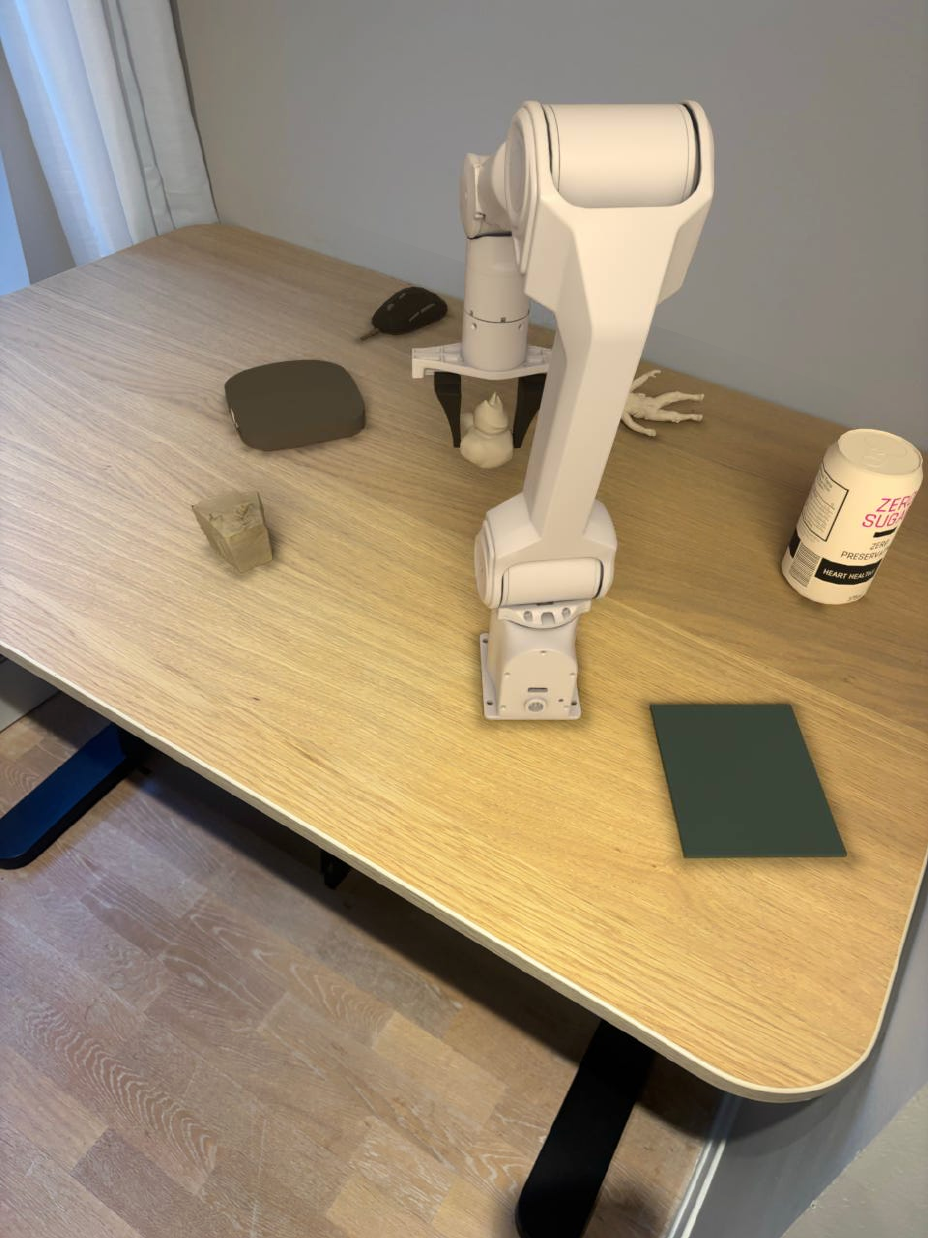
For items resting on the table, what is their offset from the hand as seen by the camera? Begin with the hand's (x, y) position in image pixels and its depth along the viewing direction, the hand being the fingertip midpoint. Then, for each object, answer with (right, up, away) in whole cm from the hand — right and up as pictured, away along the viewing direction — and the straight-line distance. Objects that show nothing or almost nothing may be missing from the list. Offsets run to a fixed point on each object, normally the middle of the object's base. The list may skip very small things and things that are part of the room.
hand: (487, 442), depth 84 cm
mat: (+20, -30, -16) cm, 39 cm away
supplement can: (+33, -13, +1) cm, 35 cm away
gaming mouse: (-11, +23, +35) cm, 43 cm away
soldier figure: (+20, +7, +20) cm, 29 cm away
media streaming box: (-22, +7, +18) cm, 29 cm away
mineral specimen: (-23, -12, 0) cm, 26 cm away
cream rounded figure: (0, -2, +2) cm, 2 cm away
